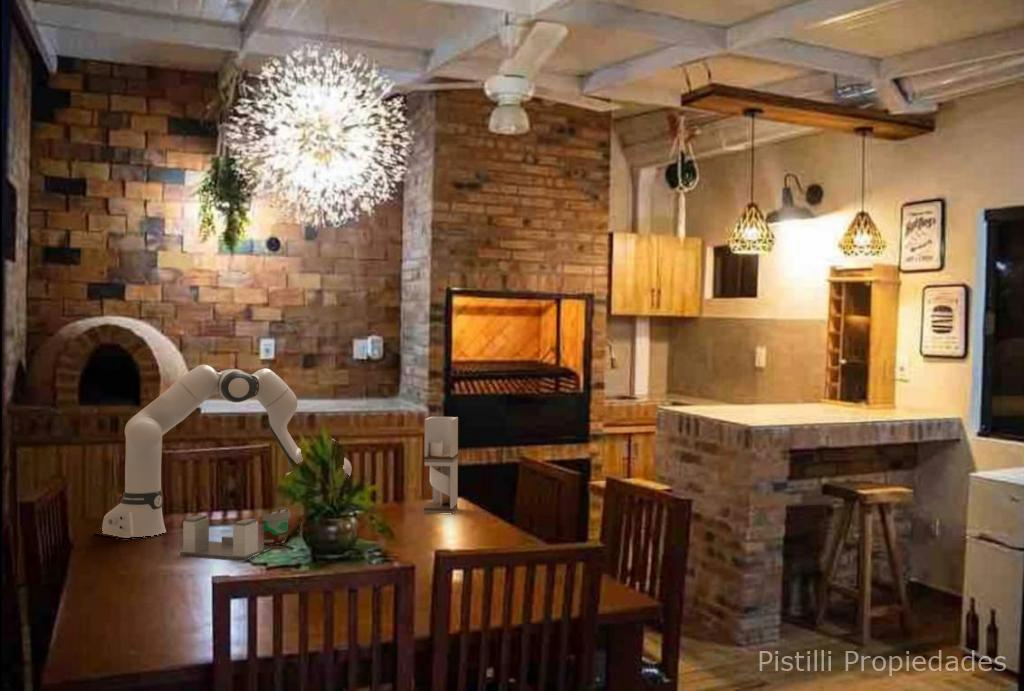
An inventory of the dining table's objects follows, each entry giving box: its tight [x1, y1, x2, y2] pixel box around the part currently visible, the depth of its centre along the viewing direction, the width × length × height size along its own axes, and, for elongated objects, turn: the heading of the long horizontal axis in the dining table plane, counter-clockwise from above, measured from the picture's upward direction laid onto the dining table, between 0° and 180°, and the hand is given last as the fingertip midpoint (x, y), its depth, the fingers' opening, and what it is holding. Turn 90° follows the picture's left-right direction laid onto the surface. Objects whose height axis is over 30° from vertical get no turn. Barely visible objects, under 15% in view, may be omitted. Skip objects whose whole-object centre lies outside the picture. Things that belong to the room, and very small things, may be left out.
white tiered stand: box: [423, 416, 459, 515], centre depth 344 cm, size 11×11×35 cm
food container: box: [261, 506, 292, 546], centre depth 292 cm, size 12×6×10 cm, turn 168°
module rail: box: [179, 514, 273, 561], centre depth 277 cm, size 22×15×11 cm
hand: (304, 481), depth 306 cm, fingers open, 8 cm apart
